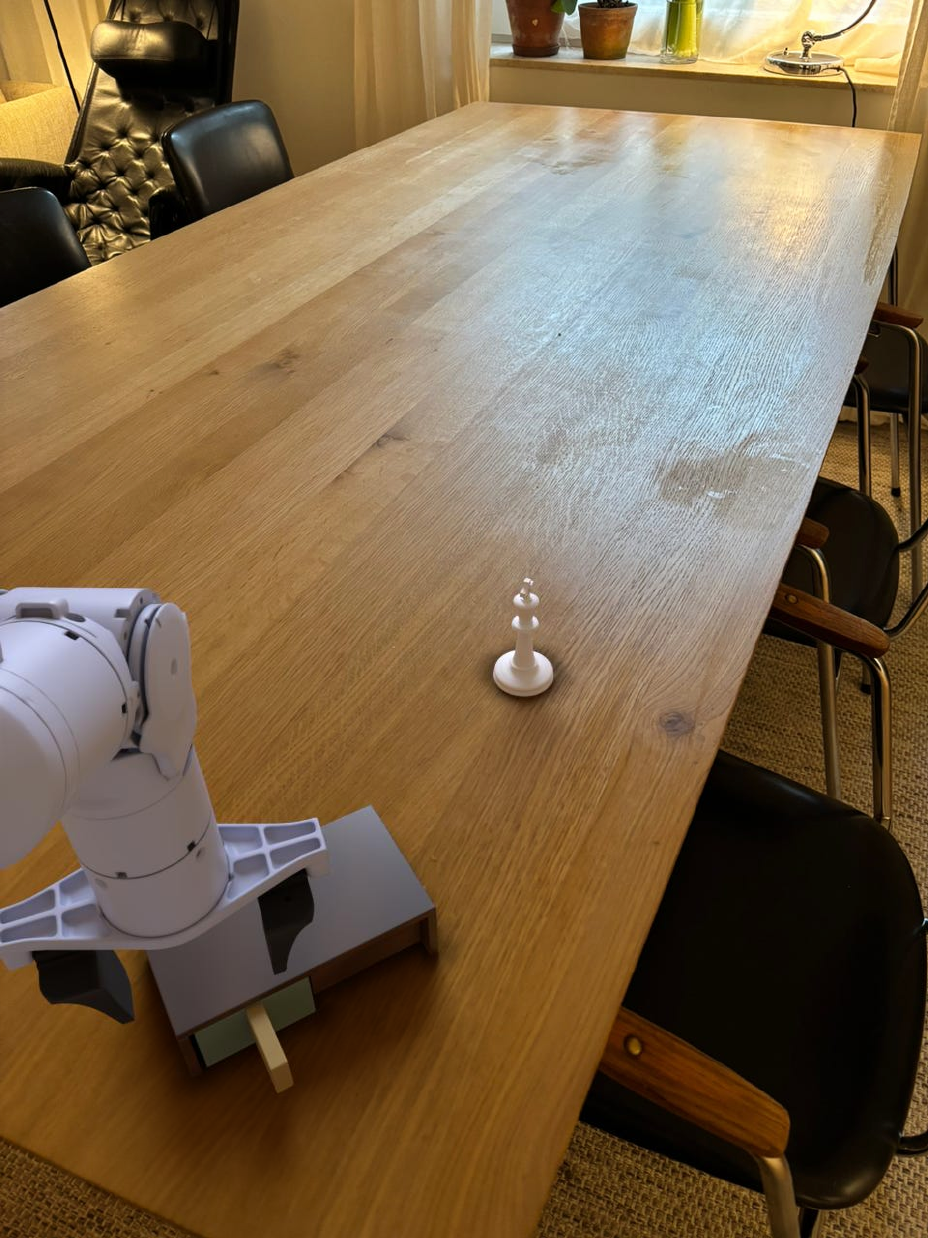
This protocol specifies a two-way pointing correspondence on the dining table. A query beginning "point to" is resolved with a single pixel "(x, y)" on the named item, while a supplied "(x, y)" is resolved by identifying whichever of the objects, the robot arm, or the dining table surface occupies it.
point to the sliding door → (260, 1030)
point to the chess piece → (524, 652)
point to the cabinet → (302, 933)
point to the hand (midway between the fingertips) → (202, 980)
